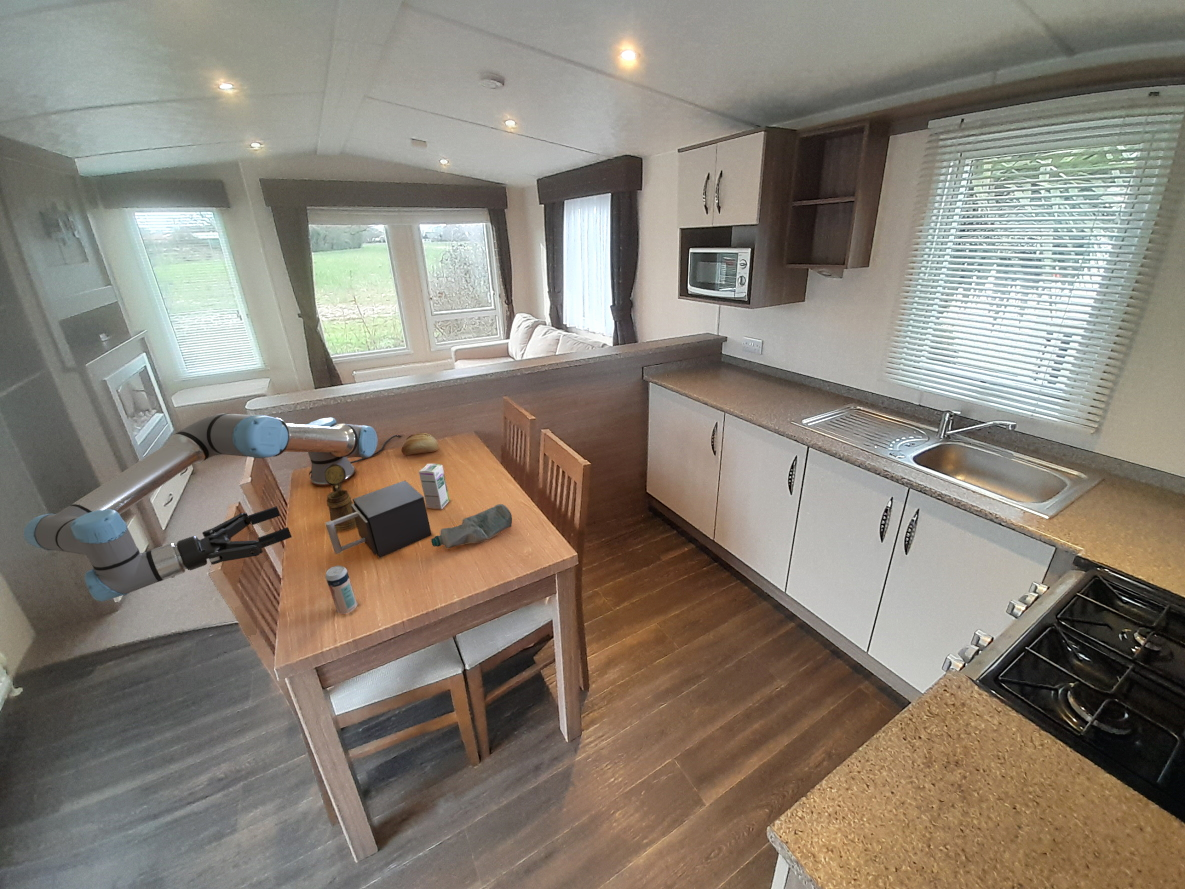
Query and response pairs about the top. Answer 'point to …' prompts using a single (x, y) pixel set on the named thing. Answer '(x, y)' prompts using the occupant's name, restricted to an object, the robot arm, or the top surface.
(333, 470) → the wooden mug
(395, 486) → the drawer cabinet
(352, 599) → the beer can
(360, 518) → the dark grey drawer
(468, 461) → the top surface
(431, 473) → the syrup box
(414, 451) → the bread roll
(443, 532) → the crushed plastic bottle
